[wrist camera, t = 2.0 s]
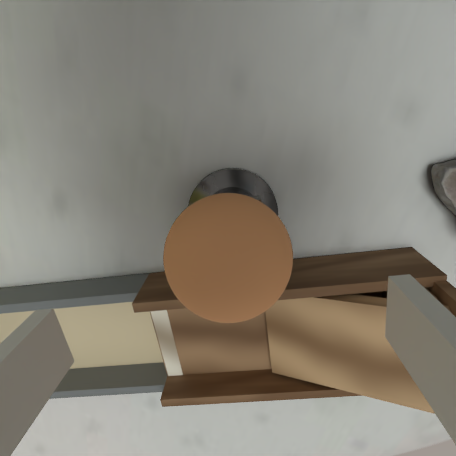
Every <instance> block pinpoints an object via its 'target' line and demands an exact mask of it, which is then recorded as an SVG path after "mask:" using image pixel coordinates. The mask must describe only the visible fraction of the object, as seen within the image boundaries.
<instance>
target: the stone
mask: <svg viewBox="0 0 456 456" xmlns="http://www.w3.org/2000/svg"><path fill="white" fill-rule="evenodd" d="M431 175H432V180H433V185H434V189H435V192H436V194H437V195H438V196H439V198H440V200H441V201H442V202H443V203H444V204H445V205H446V207H447V209H449V210H450V211H451V212H453V213H454V214H455V215H456V159H455V160H450V161H447V162H444V163H439V164H435V165H433V167H432V169H431Z"/></svg>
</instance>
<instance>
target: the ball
mask: <svg viewBox="0 0 456 456" xmlns="http://www.w3.org/2000/svg"><path fill="white" fill-rule="evenodd" d="M163 261H164V269H165V275H166V278H167V281H168V283H169V285H170V287H171V289H172V291H173V293H174V294H175V296H176V297H177V299H178V300H179V301H180V302H181V303H182V304H183V305H184V306H185V307H186V308H187V309H189V310H190V311H191V312H193V313H194V314H196V315H198V316H199V317H202V318H204V319H207V320H210V321H214V322H219V323H237V322H243V321H247V320H250V319H252V318H255V317H256V316H258V315H260V314H262V313H264V312H265V311H267V310H268V309H269V308H270V307H271V306H273V305H274V304H275V302H276V301H277V300H278V299H279V298H280V297H281V295H282V293H283V292H284V290H285V288H286V286H287V284H288V282H289V279H290V276H291V272H292V266H293V251H292V244H291V240H290V237H289V234H288V232H287V230H286V228H285V226H284V224H283V223H282V221H281V220H280V218H279V217H278V216H277V215H276V214H275V212H273V211H272V210H271V209H270V208H269V207H268V206H266V205H265V204H263V203H262V202H260V201H258V200H256V199H254V198H252V197H249V196H246V195H242V194H237V193H220V194H214V195H210V196H207V197H205V198H202V199H200V200H198V201H196V202H194V203H193V204H191V205H190V206H189V207H187V208H186V209H185V210H184V211H183V212H182V213H181V214H180V215H179V217H178V218H177V219H176V220H175V222H174V223H173V225H172V226H171V229H170V231H169V233H168V235H167V238H166V242H165V247H164V255H163Z"/></svg>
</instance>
